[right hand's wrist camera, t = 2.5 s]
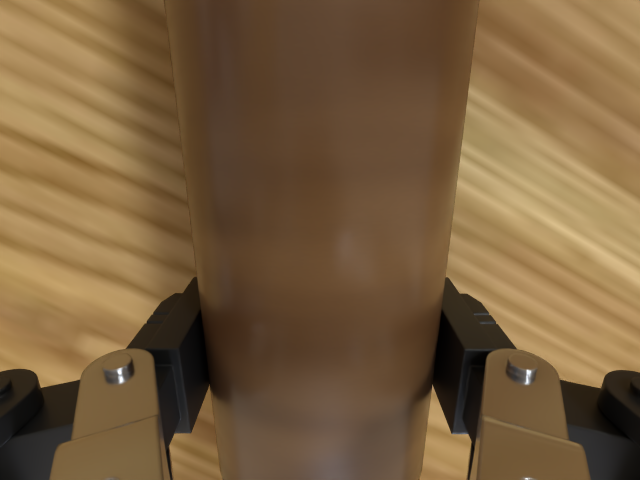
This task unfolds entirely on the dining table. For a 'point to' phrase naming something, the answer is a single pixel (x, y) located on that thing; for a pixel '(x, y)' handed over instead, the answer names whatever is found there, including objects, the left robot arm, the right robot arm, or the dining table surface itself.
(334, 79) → the rod
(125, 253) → the dining table surface
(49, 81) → the dining table surface
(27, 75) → the dining table surface
